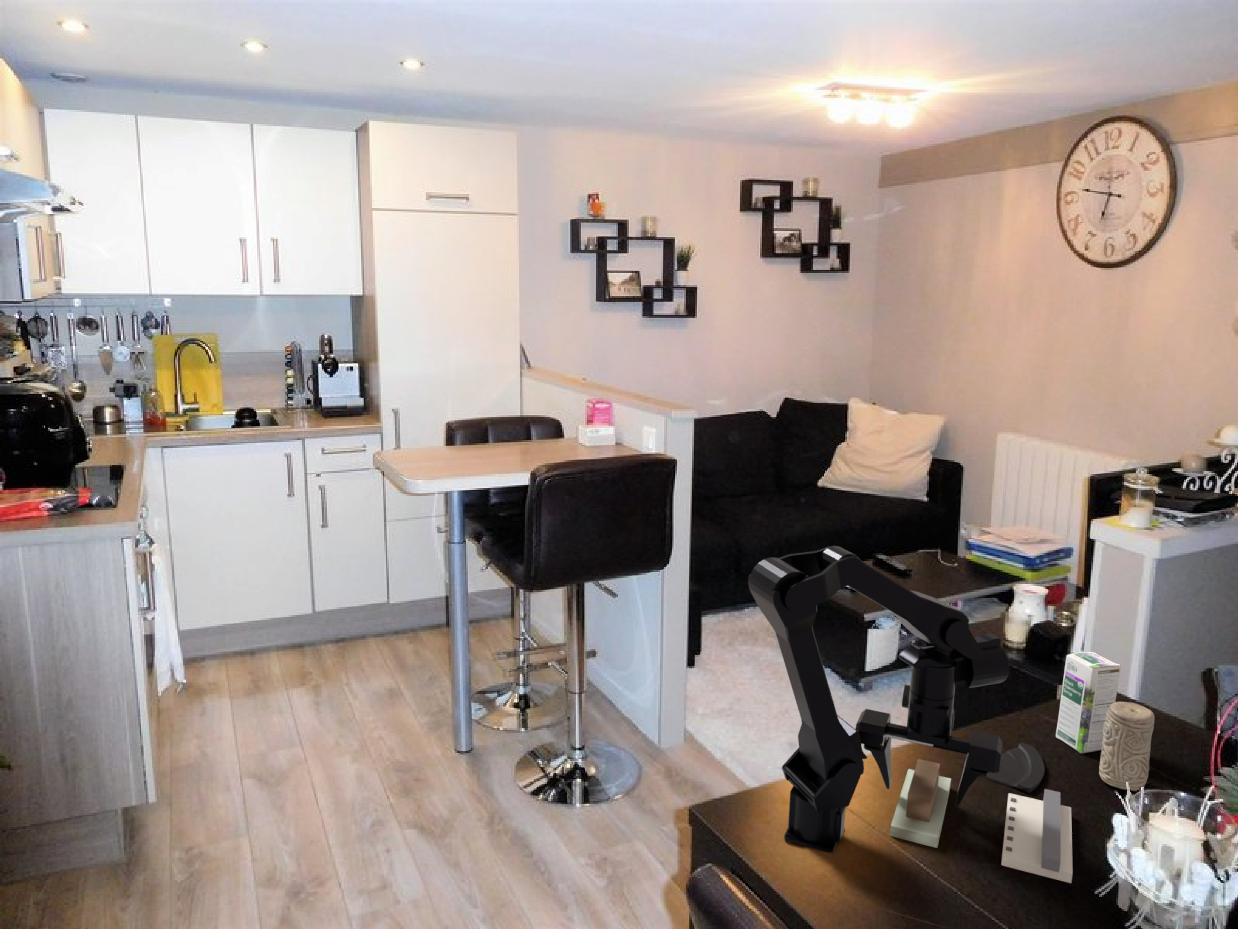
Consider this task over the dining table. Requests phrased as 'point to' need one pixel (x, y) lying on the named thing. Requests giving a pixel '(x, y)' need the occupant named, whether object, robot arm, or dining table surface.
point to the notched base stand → (1038, 836)
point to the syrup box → (1086, 700)
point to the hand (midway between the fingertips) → (922, 795)
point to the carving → (1126, 745)
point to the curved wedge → (1020, 768)
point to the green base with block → (921, 805)
